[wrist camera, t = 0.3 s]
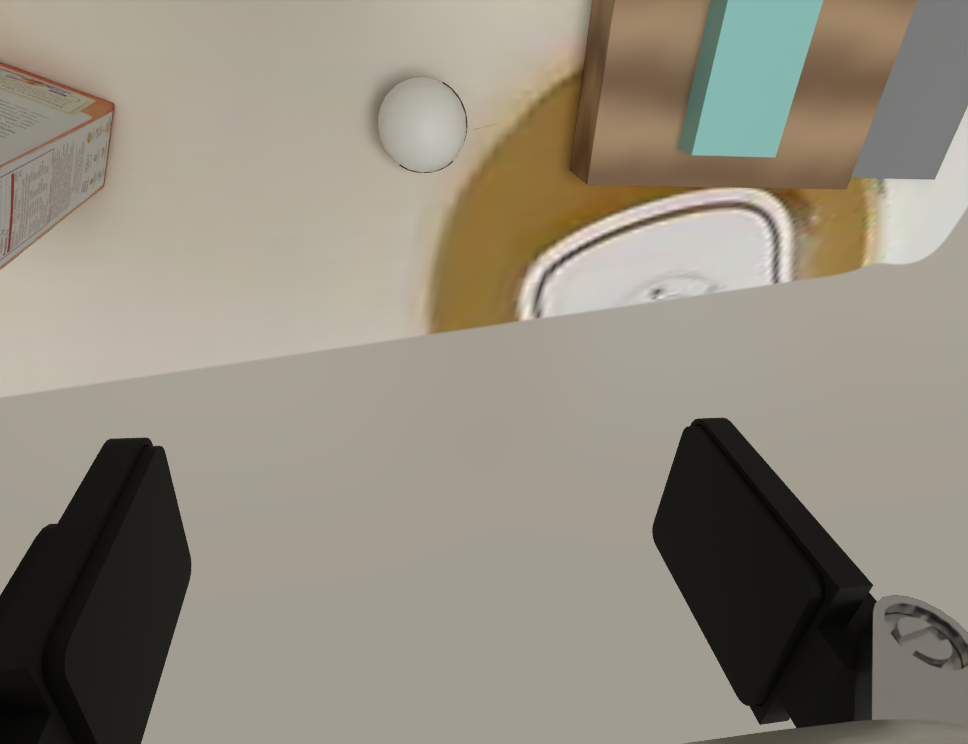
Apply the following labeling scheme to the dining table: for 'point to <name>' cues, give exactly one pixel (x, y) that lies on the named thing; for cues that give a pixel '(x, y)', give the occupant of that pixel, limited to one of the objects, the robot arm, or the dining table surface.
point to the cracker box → (46, 155)
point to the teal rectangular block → (747, 76)
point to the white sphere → (422, 124)
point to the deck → (668, 81)
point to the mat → (920, 96)
